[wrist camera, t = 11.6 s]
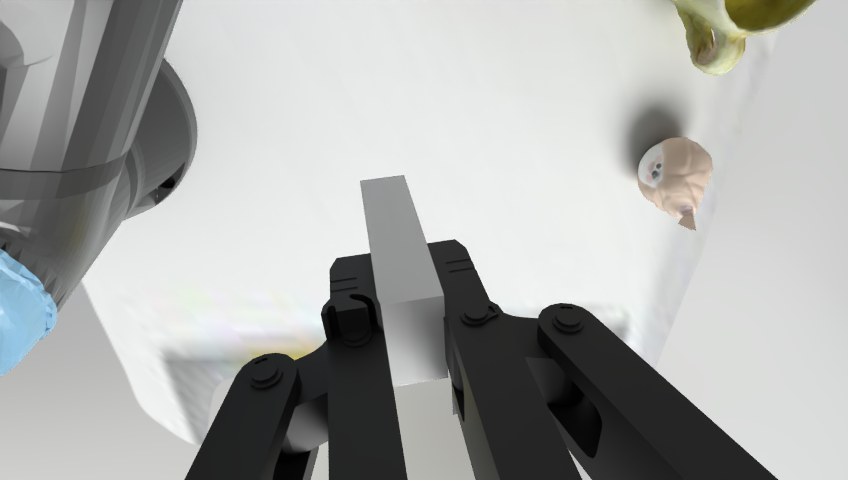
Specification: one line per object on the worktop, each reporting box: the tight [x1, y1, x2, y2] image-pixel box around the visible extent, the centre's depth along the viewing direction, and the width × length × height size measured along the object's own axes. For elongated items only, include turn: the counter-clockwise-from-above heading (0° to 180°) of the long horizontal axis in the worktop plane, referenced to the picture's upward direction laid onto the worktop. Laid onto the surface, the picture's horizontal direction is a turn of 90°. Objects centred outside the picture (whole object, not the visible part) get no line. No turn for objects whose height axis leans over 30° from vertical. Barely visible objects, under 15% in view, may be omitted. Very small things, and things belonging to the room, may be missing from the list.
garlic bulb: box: [638, 137, 713, 230], centre depth 44 cm, size 7×6×8 cm
